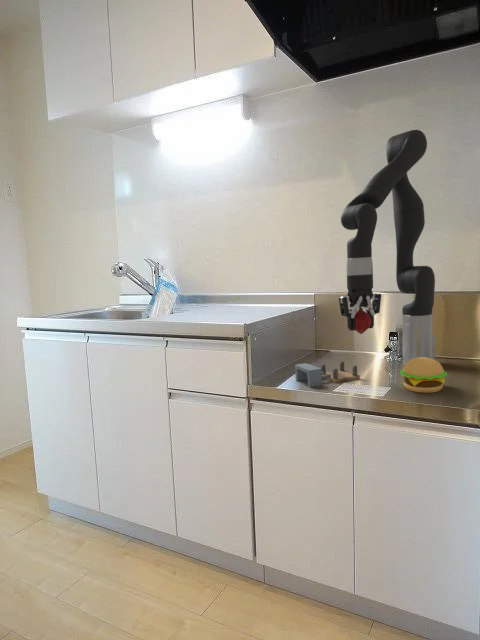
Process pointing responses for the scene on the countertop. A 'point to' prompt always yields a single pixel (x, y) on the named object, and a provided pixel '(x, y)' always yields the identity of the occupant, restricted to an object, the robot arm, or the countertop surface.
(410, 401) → the countertop surface
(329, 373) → the pin seat
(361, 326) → the onion
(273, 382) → the countertop surface
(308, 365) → the housing
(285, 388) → the countertop surface
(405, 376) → the hamburger
